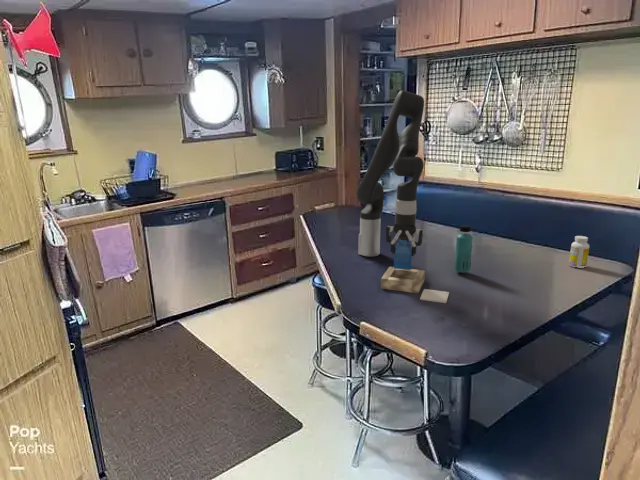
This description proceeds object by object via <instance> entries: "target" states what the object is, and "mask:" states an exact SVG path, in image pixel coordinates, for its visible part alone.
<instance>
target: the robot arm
mask: <svg viewBox="0 0 640 480" xmlns="http://www.w3.org/2000/svg"><path fill="white" fill-rule="evenodd" d="M424 109H425V99H424V96H422V95H419V94H416V93H413V92H410V91H407V90H400V91H399V92H397V94H396V97H395V99H394V101H393V105H392V107H391V110H390V113H389V116H388V119H387V122H386V124H385V126H384V127H385V128H384V130H383V132H382V134H381V136H380V138H379V140H378V143H377V146H376V148H375V149H374V154H373V156H372V158H371V160H370V163H369V165H368V167H367V170H366V173H365V174H364V176H363V177H362V180H360V183H359V185H358V186H357V189H356V199H357V200H358V202H359V203H361V204H363V205H365V207H364V208H363V209H362V210H361V211H360V212H359V217H360V218H359V234H358V246H357V248H358V251H357V252H358V255H360V256H364V257H368V258H369V257H370V258H371V257H377V256H379V255H380V250H381V247H380V246H381V220H382V219H381V217H382V216H381V215H382V213H383V210H384V199H385V198H384V195H385V192H384V187H383V185H382V184H381V183H380V182H379V181H380V179H381V178H382V177H383V176H384V174H385V173H386V172H387V171H389V169H390V168H391V167H392V171H393V173H394V175H396V176H398V177H412V178H411V179H410V180H408V181H405V182H400V183H399V184H397V188H396V201H395V213H394V225H393V226H391V225H387V226H386V227H385V239H386V240H385V241H386V242H387V243H389V244H390V252H391V254H392V255H393V254H394V255H395V248H396V246H397V243H396V242H397V240H398V238H399V239H400V238H401V237H407V239H409V242H410V243H411V248H412V257H414V256H415V255H416V254H417V247H420V246H422V244H423V238H424V233H425V232H424V231H425V230H424V228H421V229H420V228H417V227H416V219H417V211H418V209H417V193H418V186H419V181H420V179H421V175H422V174H423V170H424V166H425V164H424V160H423V159H422V157H420V156H417V155H418V153H419V150H420V149H419V145H420V143H419V139H420V130H421V125H422V119H423V115H424ZM399 116H401V117H405V118H409V119H411V122H410V123H409V124H408V125H407V126H405V128H404V129H403V130H402V131H401V133H400V135H399V131H398V120H399ZM392 232H394V233H395V236H394V237H393V238H392V236H391V235H392ZM414 234H417V235H418V239H417V240H418V241H417V240H416V237H415V235H414Z"/></svg>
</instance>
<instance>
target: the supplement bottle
mask: <svg viewBox="0 0 640 480" xmlns="http://www.w3.org/2000/svg"><path fill="white" fill-rule="evenodd" d="M588 240H589V237H587V236H583V235H576V236H574V241H573V242H572V243H571V246H570V251H569V260H568V265H569V264H570V265H572V266H586V265H587V264H588V260H589V259H588V258H589V252H590V244H589V243H588ZM586 267H587V266H586Z"/></svg>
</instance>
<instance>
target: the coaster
mask: <svg viewBox="0 0 640 480" xmlns="http://www.w3.org/2000/svg"><path fill="white" fill-rule="evenodd" d="M449 295H450V292H449V291H443V290H435V289H428V288H427V289H426V288H424V289H423V291H422V293H421V296H420V297H419V300H421V301H425V302H426V301H428V302H435V303H442V304H447V302H448V298H449Z"/></svg>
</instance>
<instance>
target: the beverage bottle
mask: <svg viewBox="0 0 640 480" xmlns="http://www.w3.org/2000/svg"><path fill="white" fill-rule="evenodd" d="M459 232H460V233H458V234H457V235H456V241H455V242H456V243H455V252H454V263H453V268H454V271H456V272H459V273H468V272H470V271H471V266H472V254H473V251H472V250H473V235H472V234H470V232H471V226H470V225H468V224H461V225H460V227H459Z"/></svg>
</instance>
